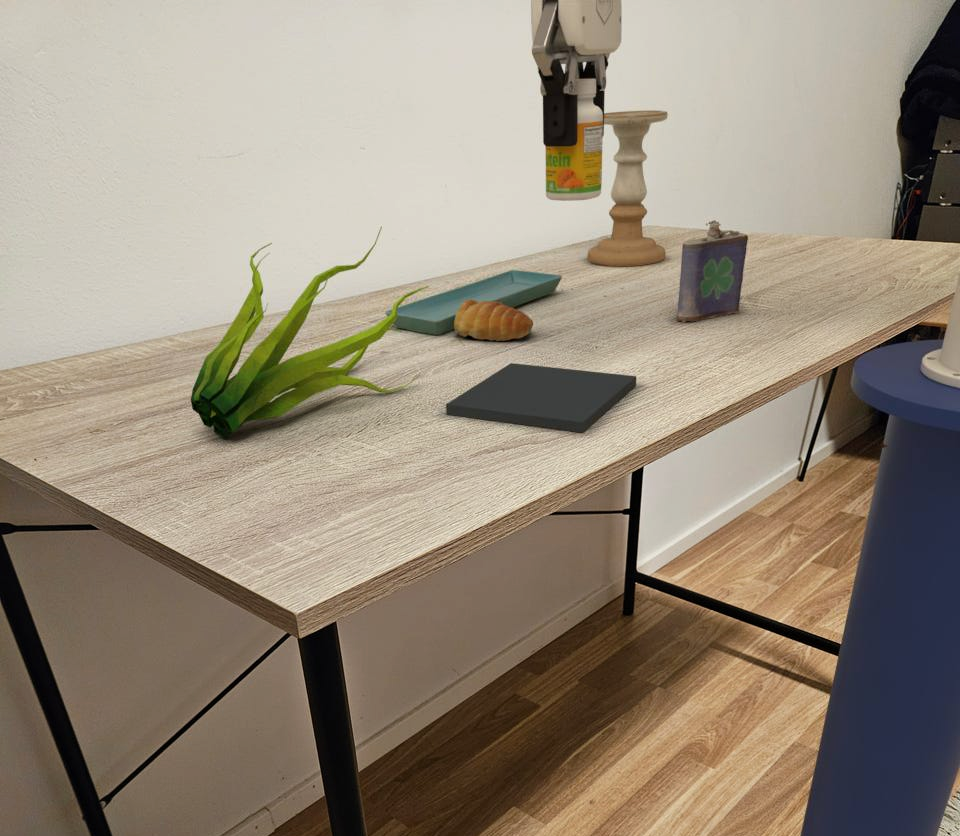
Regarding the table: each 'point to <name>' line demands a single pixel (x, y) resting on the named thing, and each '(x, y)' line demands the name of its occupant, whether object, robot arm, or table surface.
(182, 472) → the table surface
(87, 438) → the table surface
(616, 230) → the candle holder
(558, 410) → the mat
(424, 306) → the teal serving tray
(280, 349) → the decorative plant
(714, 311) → the flask
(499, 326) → the pastry
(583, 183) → the supplement bottle
